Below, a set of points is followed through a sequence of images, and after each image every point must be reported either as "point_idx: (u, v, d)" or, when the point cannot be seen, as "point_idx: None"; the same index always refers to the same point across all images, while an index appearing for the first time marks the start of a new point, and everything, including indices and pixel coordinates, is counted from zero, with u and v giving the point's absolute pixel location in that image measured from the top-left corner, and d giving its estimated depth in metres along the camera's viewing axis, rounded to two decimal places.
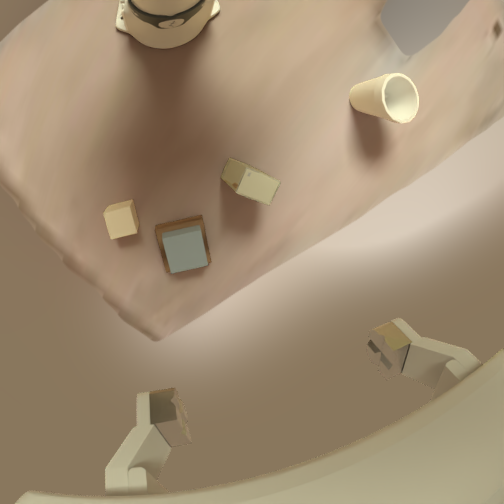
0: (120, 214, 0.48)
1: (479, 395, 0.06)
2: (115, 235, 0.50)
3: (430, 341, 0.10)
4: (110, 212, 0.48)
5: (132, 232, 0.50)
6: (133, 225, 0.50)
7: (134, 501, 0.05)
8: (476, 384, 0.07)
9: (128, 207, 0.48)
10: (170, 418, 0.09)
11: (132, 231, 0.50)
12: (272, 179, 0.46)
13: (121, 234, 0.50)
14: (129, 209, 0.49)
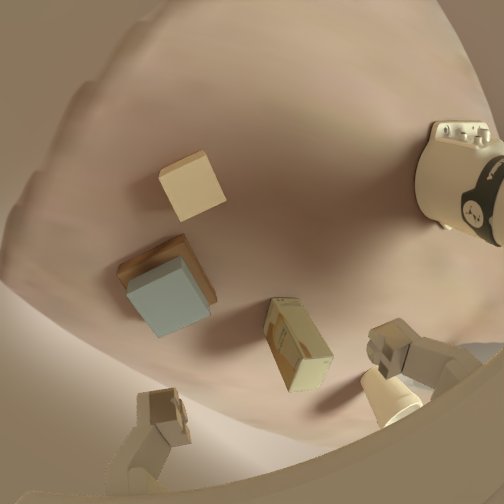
0: (209, 187, 0.29)
1: (479, 395, 0.06)
2: (168, 185, 0.28)
3: (430, 341, 0.10)
4: (210, 168, 0.28)
5: (180, 214, 0.29)
6: (193, 213, 0.30)
7: (134, 501, 0.05)
8: (476, 384, 0.07)
9: (224, 198, 0.30)
10: (170, 418, 0.09)
11: (182, 215, 0.29)
12: (320, 382, 0.34)
13: (172, 195, 0.28)
14: (220, 201, 0.30)
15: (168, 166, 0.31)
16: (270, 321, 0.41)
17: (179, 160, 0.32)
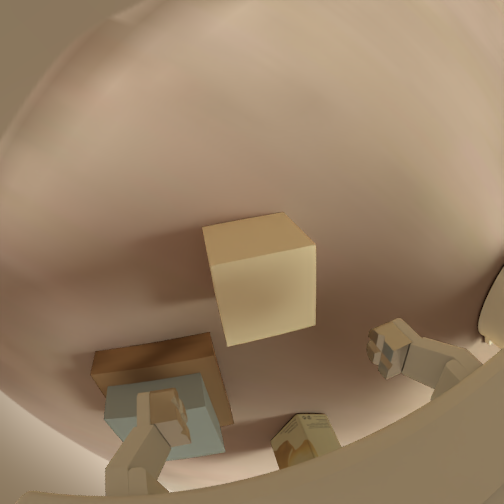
0: (298, 300, 0.15)
1: (479, 395, 0.06)
2: (226, 283, 0.14)
3: (430, 341, 0.10)
4: (312, 270, 0.15)
5: (231, 335, 0.15)
6: (254, 337, 0.16)
7: (134, 501, 0.05)
8: (476, 384, 0.07)
9: (312, 321, 0.16)
10: (170, 418, 0.09)
11: (234, 336, 0.16)
12: None
13: (227, 303, 0.15)
14: (306, 324, 0.16)
15: (218, 227, 0.17)
16: (287, 439, 0.28)
17: (239, 220, 0.18)
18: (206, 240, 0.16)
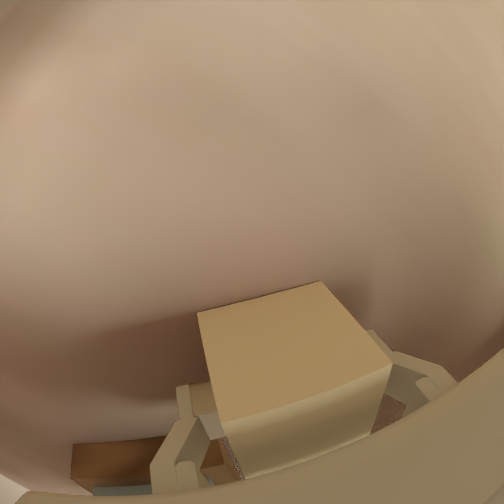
0: (352, 428, 0.09)
1: (479, 395, 0.06)
2: (247, 436, 0.07)
3: (401, 356, 0.10)
4: (379, 393, 0.08)
5: (253, 476, 0.09)
6: None
7: (134, 501, 0.05)
8: (476, 384, 0.07)
9: None
10: (214, 409, 0.09)
11: (258, 475, 0.09)
12: None
13: (249, 453, 0.08)
14: None
15: (223, 316, 0.11)
16: None
17: (255, 299, 0.11)
18: (206, 350, 0.09)
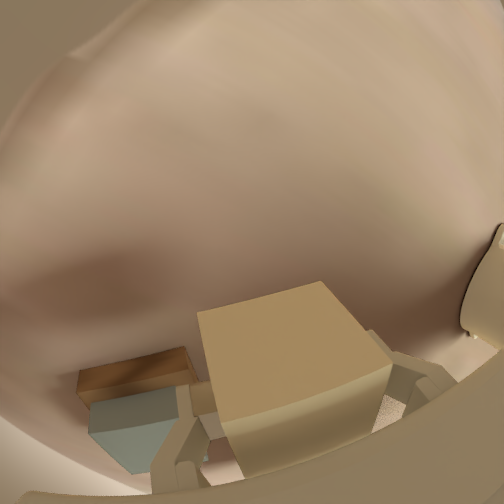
0: (352, 428, 0.09)
1: (479, 395, 0.06)
2: (247, 437, 0.07)
3: (401, 356, 0.10)
4: (380, 393, 0.08)
5: (253, 476, 0.09)
6: None
7: (134, 501, 0.05)
8: (476, 384, 0.07)
9: None
10: (214, 409, 0.09)
11: (258, 475, 0.09)
12: None
13: (249, 453, 0.08)
14: None
15: (223, 316, 0.11)
16: None
17: (255, 299, 0.11)
18: (206, 350, 0.09)
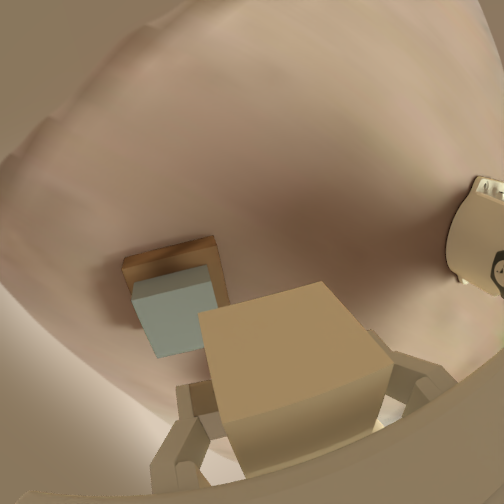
0: (353, 428, 0.09)
1: (479, 395, 0.06)
2: (248, 437, 0.07)
3: (401, 356, 0.10)
4: (380, 393, 0.08)
5: (254, 476, 0.09)
6: None
7: (134, 501, 0.05)
8: (476, 384, 0.07)
9: None
10: (214, 409, 0.09)
11: None
12: None
13: (250, 454, 0.08)
14: None
15: (224, 316, 0.11)
16: None
17: (256, 300, 0.11)
18: (207, 350, 0.09)
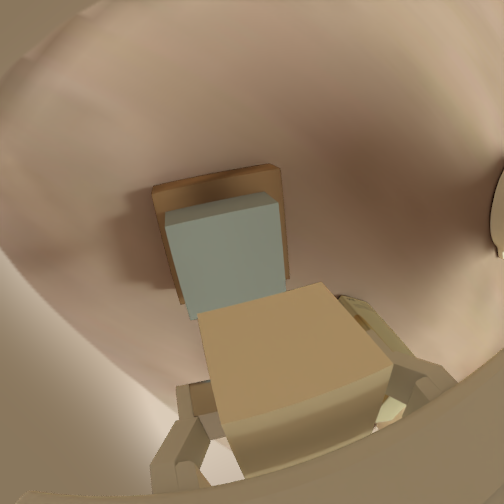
0: (352, 429, 0.09)
1: (479, 395, 0.06)
2: (247, 438, 0.07)
3: (401, 356, 0.10)
4: (380, 394, 0.08)
5: None
6: None
7: (134, 501, 0.05)
8: (476, 384, 0.07)
9: None
10: (214, 409, 0.09)
11: None
12: None
13: (250, 454, 0.08)
14: None
15: (224, 317, 0.11)
16: None
17: (255, 300, 0.11)
18: (207, 351, 0.09)
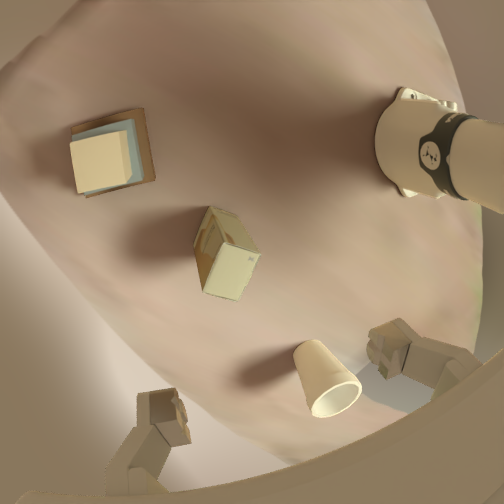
0: (112, 164, 0.25)
1: (479, 395, 0.06)
2: (76, 152, 0.24)
3: (430, 341, 0.10)
4: (118, 145, 0.25)
5: (79, 185, 0.25)
6: (91, 188, 0.25)
7: (134, 501, 0.05)
8: (476, 384, 0.07)
9: (124, 180, 0.26)
10: (170, 418, 0.09)
11: (81, 186, 0.25)
12: (242, 291, 0.32)
13: (76, 164, 0.24)
14: (120, 182, 0.26)
15: None
16: (202, 228, 0.39)
17: None
18: None
